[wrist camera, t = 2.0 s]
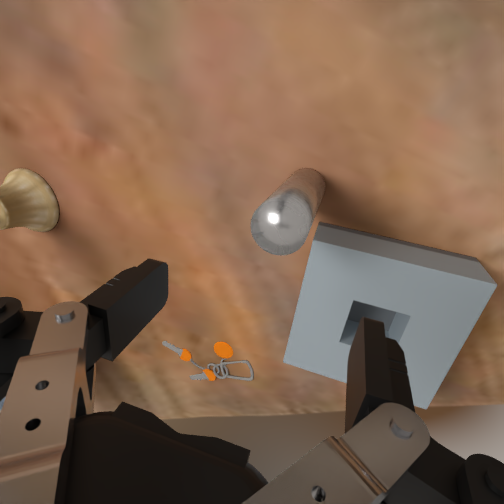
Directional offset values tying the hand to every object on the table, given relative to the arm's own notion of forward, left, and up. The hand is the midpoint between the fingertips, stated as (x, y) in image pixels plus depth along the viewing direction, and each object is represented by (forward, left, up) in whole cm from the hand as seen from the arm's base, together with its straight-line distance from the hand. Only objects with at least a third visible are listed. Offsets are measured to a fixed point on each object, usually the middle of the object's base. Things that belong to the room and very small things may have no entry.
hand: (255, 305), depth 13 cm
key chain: (+26, -9, -20) cm, 34 cm away
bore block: (+10, +8, -20) cm, 23 cm away
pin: (0, -1, -20) cm, 20 cm away
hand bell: (+9, -35, -20) cm, 41 cm away
